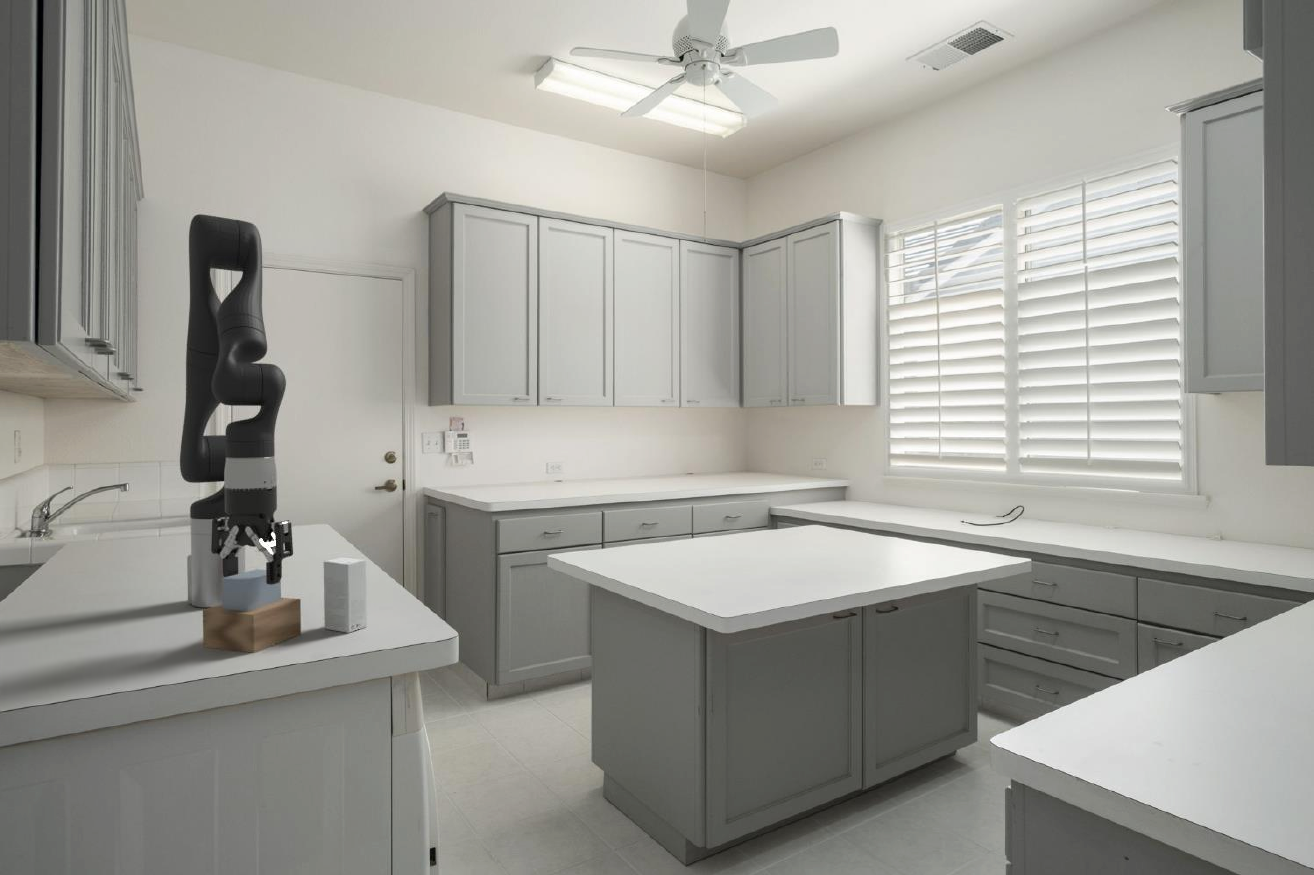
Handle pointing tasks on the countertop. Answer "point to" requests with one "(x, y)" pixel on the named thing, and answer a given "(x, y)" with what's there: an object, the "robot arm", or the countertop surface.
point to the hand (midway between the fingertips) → (252, 581)
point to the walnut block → (251, 626)
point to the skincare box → (345, 594)
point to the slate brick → (249, 591)
